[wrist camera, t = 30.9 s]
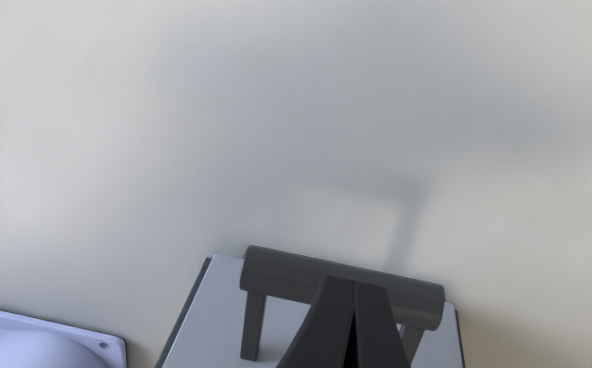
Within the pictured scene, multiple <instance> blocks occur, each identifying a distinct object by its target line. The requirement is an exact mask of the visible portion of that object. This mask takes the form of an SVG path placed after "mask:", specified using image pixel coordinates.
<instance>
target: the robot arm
mask: <svg viewBox="0 0 592 368" xmlns="http://www.w3.org/2000/svg"><path fill="white" fill-rule="evenodd" d="M0 368H127V362H126V349H125V343H124V341H123V340H122V339H121V338H119V337H116V336H111V335H107V334H102V333H98V332H94V331H89V330H85V329H80V328H76V327H71V326H67V325H62V324H58V323H54V322H49V321H45V320H40V319H36V318H31V317H27V316H23V315H18V314H14V313H9V312H5V311H0ZM276 368H411V365H410V363H409V360H408V357H407V355H406V352H405V349H404V346H403V344H402V341H401V338H400V334H399V331H398V328H397V325H396V322H395V319H394V315H393V312H392V308H391V304H390V300H389V296H388V292H387V290H386V289H385V288H384V287H383V286H378V285H374V284H369V283H364V282H359V281H355V280H350V279H345V278H340V277H336V276H331V275H324V276H322V277H320V280H319V285H318V288H317V291H316V294H315V297H314V299H313V302H312V304H311V306H310V309H309V311H308V313H307V315H306V317H305V319H304V321H303V323H302V325H301V326H300V328H299V330H298V332H297V333H296V335H295V337H294V339H293V341H292V342H291V344H290V346H289V348H288V349H287V351H286V353H285V354H284V356H283V357H282V359H281V360H280V362H279V363H278V365H277V366H276Z"/></svg>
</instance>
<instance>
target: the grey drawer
mask: <svg viewBox="0 0 592 368" xmlns="http://www.w3.org/2000/svg"><path fill="white" fill-rule="evenodd" d="M324 275H331V276H336V277H340V278H345V279H350V280H355V281H359V282H364V283H369V284H374V285H378V286H383V287H384V288H385V289H386V290H387V292H388V296H389V300H390V304H391V308H392V312H393V315H394V319H395V322H396V325H397V328H398V331H399V334H400V338H401V341H402V344H403V346H404V349H405V352H406V355H407V357H408V360H409V363H410V365H411V368H463V365H462V358H461V351H460V344H459V337H458V330H457V323H456V316H455V310H454V304H453V303H450V302H445V294H444V288H443V286H442V285H440V284H435V283H430V282H425V281H421V280H416V279H411V278H406V277H402V276H397V275H392V274H387V273H382V272H378V271H373V270H368V269H363V268H359V267H354V266H349V265H344V264H340V263H335V262H330V261H325V260H321V259H316V258H311V257H306V256H302V255H297V254H292V253H287V252H282V251H278V250H273V249H268V248H263V247H259V246H254V245H249V247H248V248H247V250H246V253H245V256H244V259H242V258H237V257H233V256H228V255H223V254H219V253H215V254H214V256H213V258H212V260H211V262H210V265H209V267H208V269H207V271H206V273H205V275H204V278H203V280H202V282H201V284H200V286H199V289H198V291H197V293H196V295H195V297H194V299H193V302H192V304H191V306H190V308H189V310H188V313H187V315H186V317H185V319H184V321H183V323H182V326H181V328H180V330H179V332H178V334H177V337H176V339H175V341H174V343H173V345H172V347H171V350H170V352H169V354H168V356H167V358H166V361H165V363H164V365H163V367H162V368H276V366H277V365H278V363H279V362H280V360H281V359H282V357H283V356H284V354H285V353H286V351H287V349H288V348H289V346H290V344H291V342H292V341H293V339H294V337H295V335H296V333H297V332H298V330H299V328H300V326H301V325H302V323H303V321H304V319H305V317H306V315H307V313H308V311H309V309H310V306H311V304H312V302H313V299H314V297H315V294H316V291H317V288H318V285H319V280H320V277H322V276H324Z"/></svg>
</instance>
